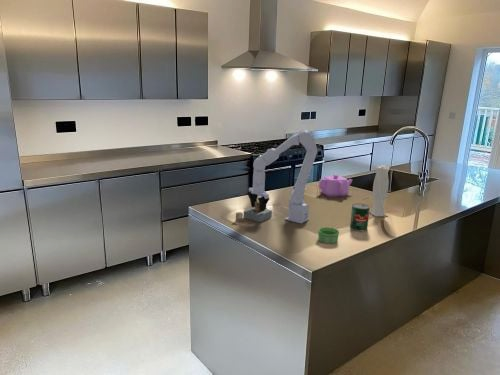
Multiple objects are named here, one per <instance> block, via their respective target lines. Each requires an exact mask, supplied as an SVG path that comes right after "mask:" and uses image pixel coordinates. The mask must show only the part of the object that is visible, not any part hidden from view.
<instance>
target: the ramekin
mask: <svg viewBox="0 0 500 375" xmlns="http://www.w3.org/2000/svg"><path fill="white" fill-rule="evenodd" d="M317 232H318V236H317V237H318V240H319V241H320V242H321V243H323V244H326V245H327V244H330V245H331V244H335V243H337V242H338V241H339V235H340V231H339V230H338V229H337V228H333V227H330V226H329V227H328V226H324V227H320V228H318V229H317Z"/></svg>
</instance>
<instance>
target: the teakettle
mask: <svg viewBox="0 0 500 375" xmlns="http://www.w3.org/2000/svg"><path fill="white" fill-rule="evenodd" d="M352 182H353V179H352V178H345V177H343V176H341V175H339V174H332V175H331V176H329V175H326V176H324V177H323V178H320V179H319V182H318V189H320V190H321V193H322V194H323V195H325V196H326V197H329V198H330V197H331V198H332V197H333V198H338V197H341V198H342V197H348V195H349V188H350V185H351V184H352Z"/></svg>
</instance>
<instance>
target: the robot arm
mask: <svg viewBox="0 0 500 375" xmlns="http://www.w3.org/2000/svg"><path fill="white" fill-rule="evenodd" d="M300 144H301V145H302V146H303V147H304V149H305V150H306V153H305V156H304V157H303V158H304V159H303V162H302V164H301V167H300V171H299V173H298V176H297V179H296V182H295V184H294V186H293V187H292V188H291V189H290V191H289V192H290V193H289V194H290V199H289V201H288V216H286V217H285V218H284V220H286V221H290V222H293V223H297V224H303V223H305V222H307V221H309V219H310V218H309V211H310V207H309V205H308V204H307V203H305V201H304V199H305V195H304V194H305V191H306V185H307V182H308V179H309V177H310V174H311V172H312V168H313V166H314V163H315V159H316V157H317V155H318V148H317V147H318V146H317V144H316V139H315V137H314V136H313V135H312V133H311V132H310V130H308V129H301V130H300V131H299V132H296V133H294V134H293V135H291V136H290V137H289V138H287V139H286V140H285V141H283V143H281V144H280V145H278V146H277V147H276V148H267V150H266V152H264V153H263V154H261V155H258V157H257V158H255V159H254V160H253V164H252V166H253V175H252V187H249V188H248V193H247V197H248V199H249V200H250V205H251V208H253V207H255V202H256V201H257V197H258V195H259V196H262V197H260V198H258V200H259V203H260V211H261V212H262V211H265V207H267V205H268V202H269V201H270V195H269V194H268V193H267V192H266V191H265V186H266V185H265V182H266V181H265V180H266V172H265V169H266V166H267V167H268V166H269V165H271V164H272V163H274V162H275V161H277V159H279V157H280V154H281V153H283V152H285V151H287V150H288V149H289V148H291V147H293V146H300Z"/></svg>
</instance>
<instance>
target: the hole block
mask: <svg viewBox="0 0 500 375" xmlns="http://www.w3.org/2000/svg"><path fill="white" fill-rule="evenodd" d="M272 211H273V210H272V209H271V210H270V209H267V208H266V209H265V211H262V212H260V213H257V212H255V207H251V208H249V209H245V210H244V211H243V218H244V219H247V220H250V221H254V222H258V223H262V222H264V221H266V220H268V219H271V218H272V215H273V214H272V213H273V212H272Z"/></svg>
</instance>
